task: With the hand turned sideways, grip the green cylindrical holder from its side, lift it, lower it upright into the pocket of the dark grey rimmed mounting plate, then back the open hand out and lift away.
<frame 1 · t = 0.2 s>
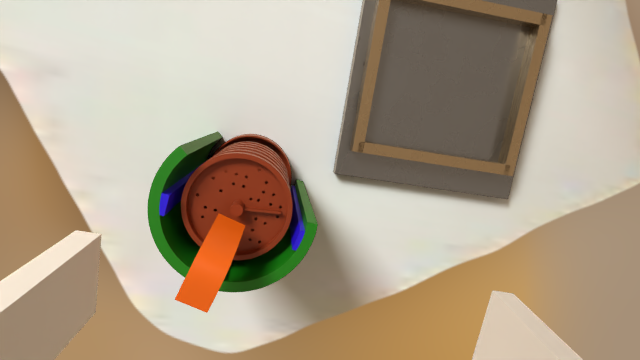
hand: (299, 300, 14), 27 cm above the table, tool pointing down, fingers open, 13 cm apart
green cylindrical holder: (249, 178, 41), on the table
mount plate: (440, 84, 40), on the table
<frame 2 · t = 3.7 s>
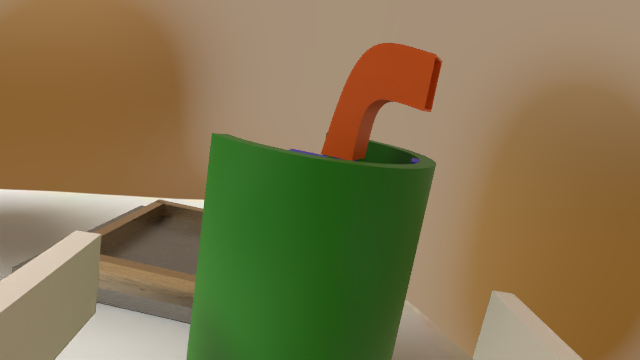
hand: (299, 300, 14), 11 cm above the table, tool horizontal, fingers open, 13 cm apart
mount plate: (191, 263, 39), on the table
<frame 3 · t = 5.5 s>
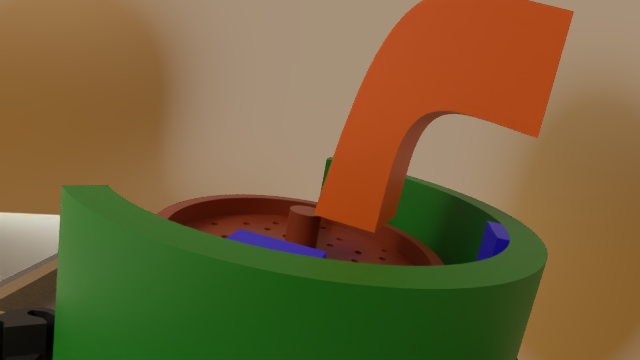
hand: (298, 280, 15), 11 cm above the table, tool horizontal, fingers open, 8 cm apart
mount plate: (152, 312, 30), on the table
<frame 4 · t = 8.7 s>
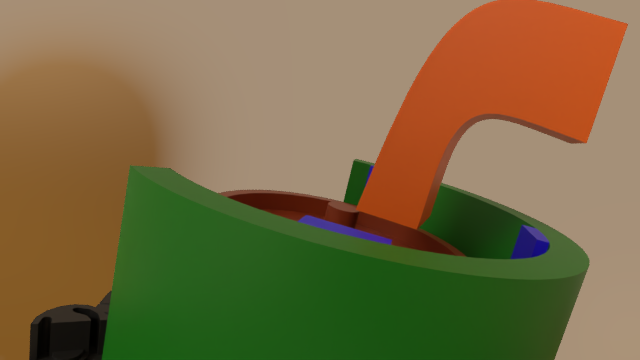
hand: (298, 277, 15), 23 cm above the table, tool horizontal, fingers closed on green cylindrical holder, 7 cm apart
when the fingers open (14 cm above the table, at t = 11.6 s): green cylindrical holder drops 2 cm, resting on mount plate.
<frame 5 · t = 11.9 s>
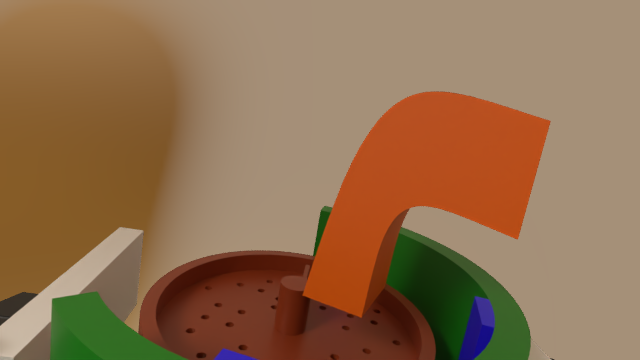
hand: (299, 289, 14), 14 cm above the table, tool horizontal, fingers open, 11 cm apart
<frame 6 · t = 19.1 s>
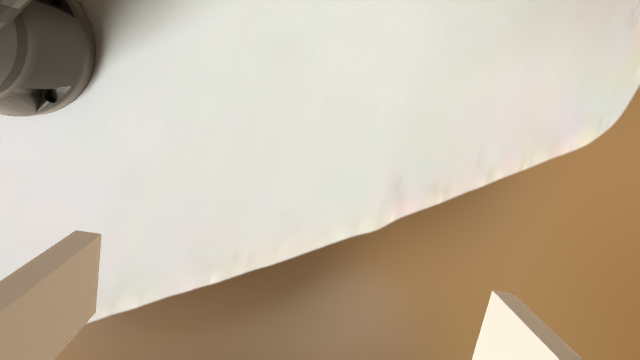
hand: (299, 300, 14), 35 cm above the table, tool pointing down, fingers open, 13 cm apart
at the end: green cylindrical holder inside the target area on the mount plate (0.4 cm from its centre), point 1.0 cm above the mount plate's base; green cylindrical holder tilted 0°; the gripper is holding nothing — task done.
